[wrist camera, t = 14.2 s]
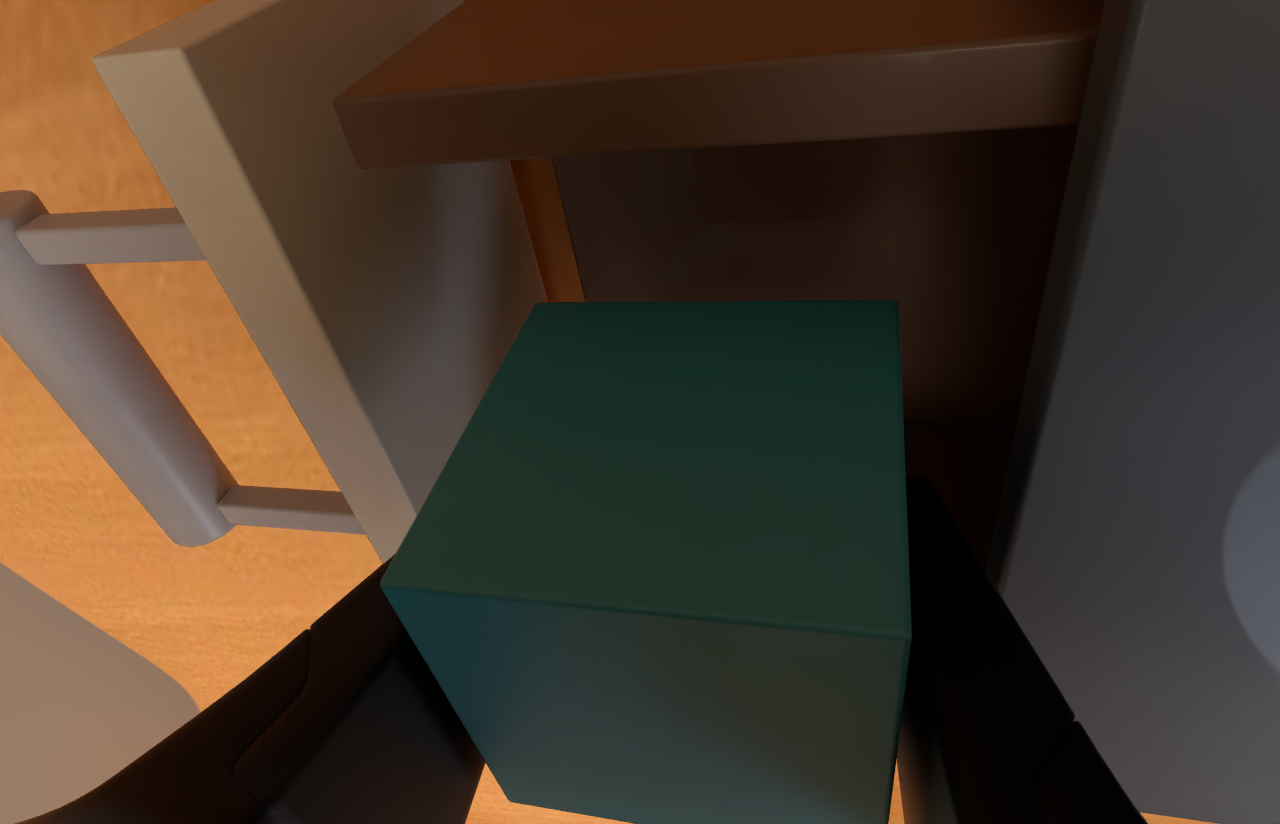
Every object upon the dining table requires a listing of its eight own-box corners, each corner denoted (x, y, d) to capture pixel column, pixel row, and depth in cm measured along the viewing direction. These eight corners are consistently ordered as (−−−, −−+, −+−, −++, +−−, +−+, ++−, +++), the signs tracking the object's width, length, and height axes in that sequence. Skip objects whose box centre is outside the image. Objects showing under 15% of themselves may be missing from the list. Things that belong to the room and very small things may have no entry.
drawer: (347, 419, 22) (196, 626, 17) (107, -35, 15) (-275, 100, 10) (1120, 445, 17) (1221, 750, 12) (1344, -228, 10) (1833, -146, 5)
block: (534, 300, 10) (375, 584, 7) (898, 296, 9) (912, 638, 6) (598, 528, 13) (506, 803, 10) (880, 548, 12) (883, 868, 8)
